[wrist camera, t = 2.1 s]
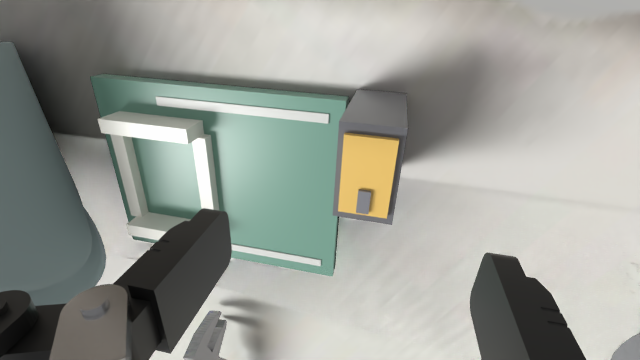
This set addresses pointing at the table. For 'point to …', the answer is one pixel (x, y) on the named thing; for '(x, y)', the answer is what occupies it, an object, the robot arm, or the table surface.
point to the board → (227, 163)
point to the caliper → (207, 339)
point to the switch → (370, 155)
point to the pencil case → (39, 201)
